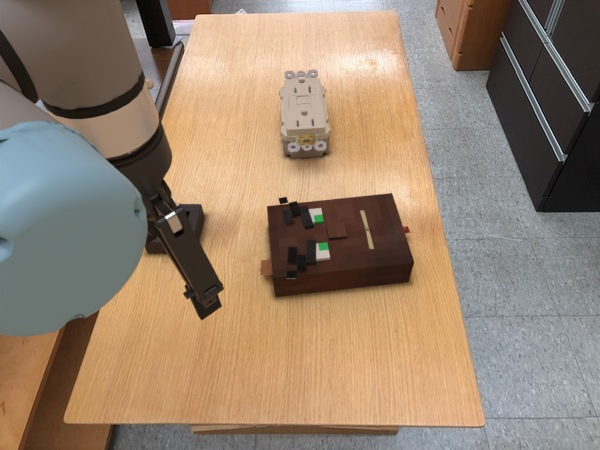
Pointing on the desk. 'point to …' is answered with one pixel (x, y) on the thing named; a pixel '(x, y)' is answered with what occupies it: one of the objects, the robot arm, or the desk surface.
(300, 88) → the electrical outlet
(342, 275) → the decorative book
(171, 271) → the desk surface
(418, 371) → the desk surface
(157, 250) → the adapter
